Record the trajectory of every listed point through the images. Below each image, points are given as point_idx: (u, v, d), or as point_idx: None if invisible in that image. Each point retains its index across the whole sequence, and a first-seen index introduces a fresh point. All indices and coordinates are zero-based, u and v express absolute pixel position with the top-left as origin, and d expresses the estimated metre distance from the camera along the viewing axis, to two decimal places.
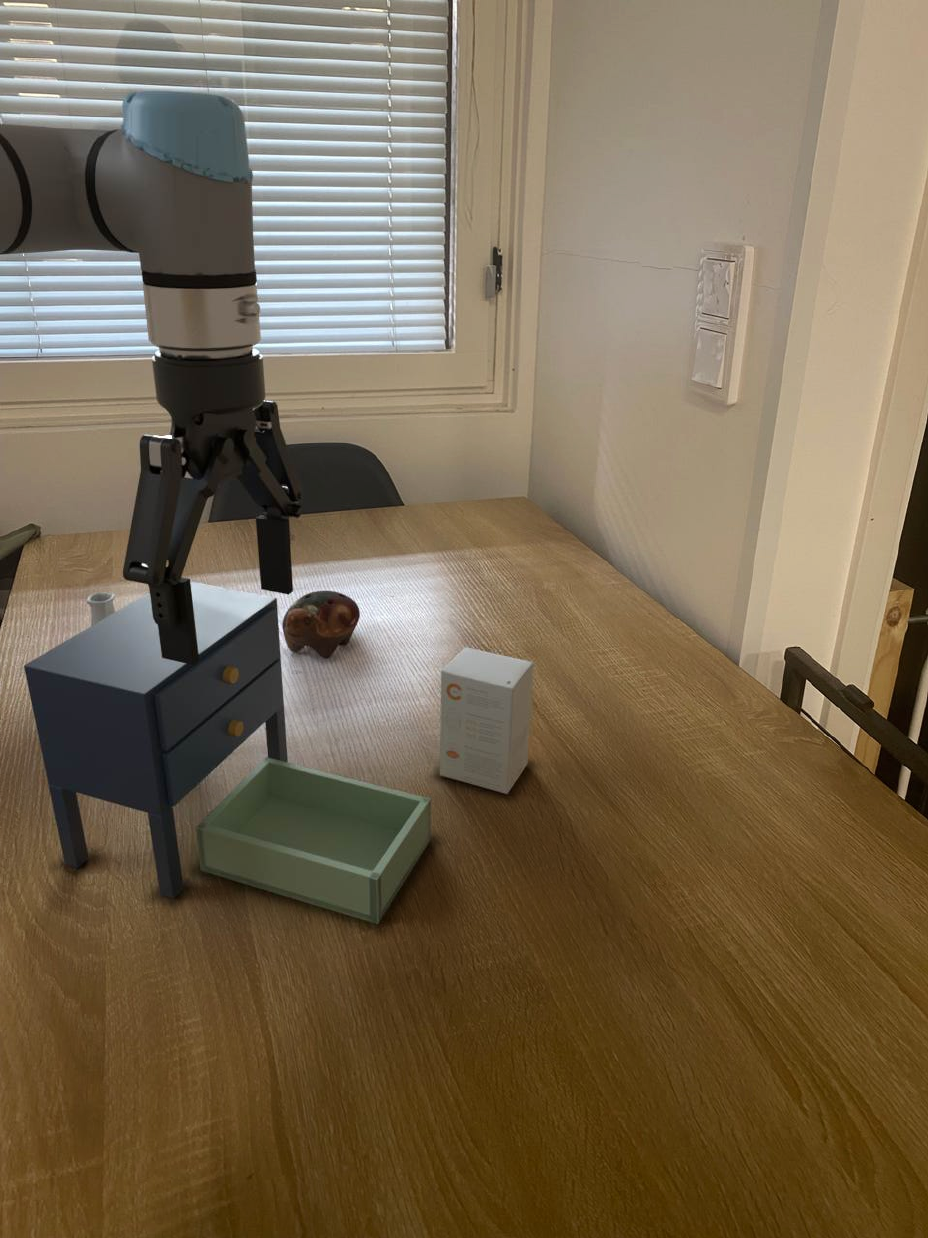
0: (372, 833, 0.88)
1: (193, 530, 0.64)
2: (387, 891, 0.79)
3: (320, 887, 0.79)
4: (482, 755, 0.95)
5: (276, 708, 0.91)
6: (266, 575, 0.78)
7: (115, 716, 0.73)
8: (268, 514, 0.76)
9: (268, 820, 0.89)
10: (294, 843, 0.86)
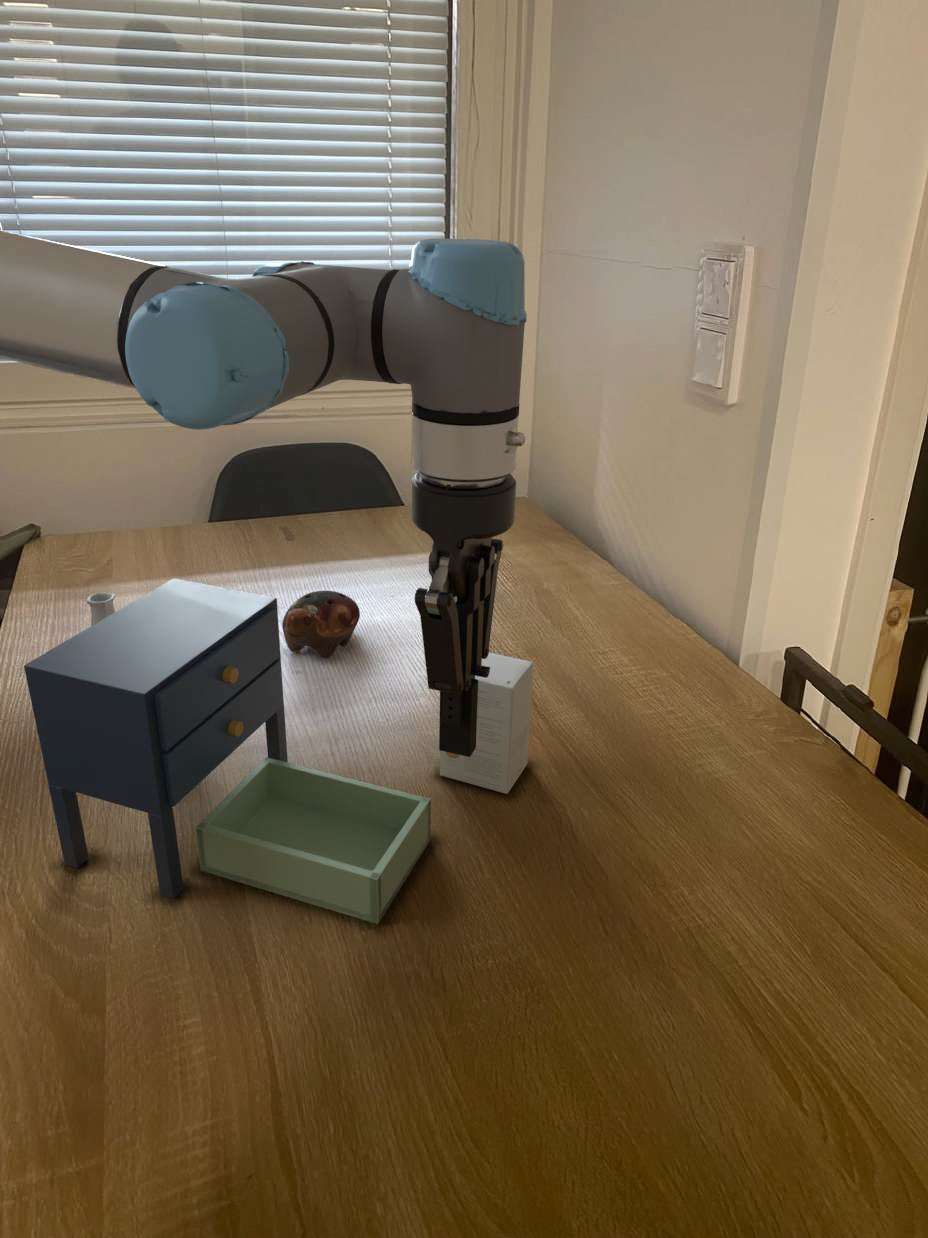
0: (372, 833, 0.88)
1: (470, 641, 0.69)
2: (387, 891, 0.79)
3: (320, 887, 0.79)
4: (482, 755, 0.95)
5: (276, 708, 0.91)
6: None
7: (115, 716, 0.73)
8: None
9: (268, 820, 0.89)
10: (294, 843, 0.86)
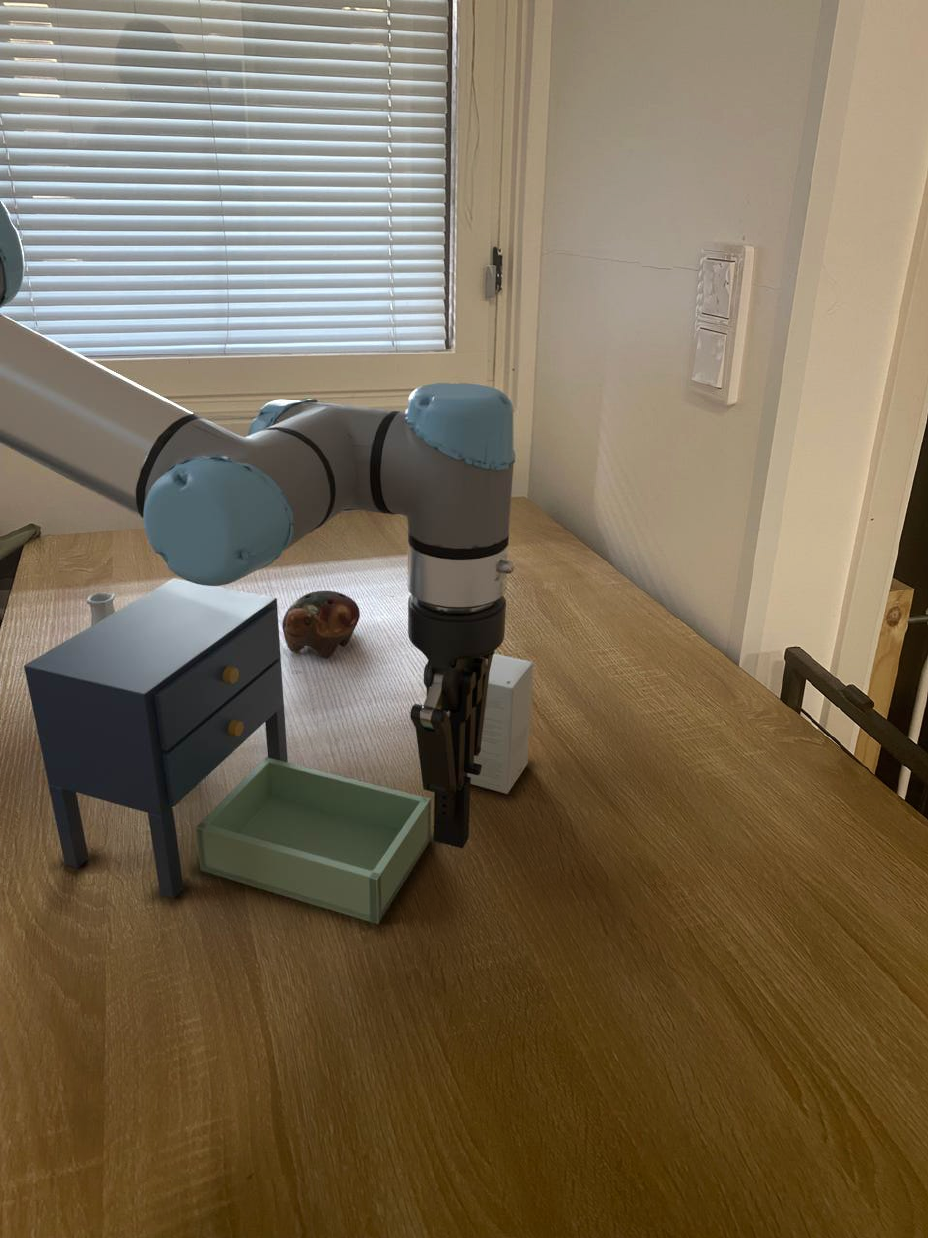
0: (372, 833, 0.88)
1: (463, 746, 0.74)
2: (387, 891, 0.79)
3: (320, 887, 0.79)
4: (482, 755, 0.95)
5: (276, 708, 0.91)
6: None
7: (115, 716, 0.73)
8: None
9: (268, 820, 0.89)
10: (294, 843, 0.86)
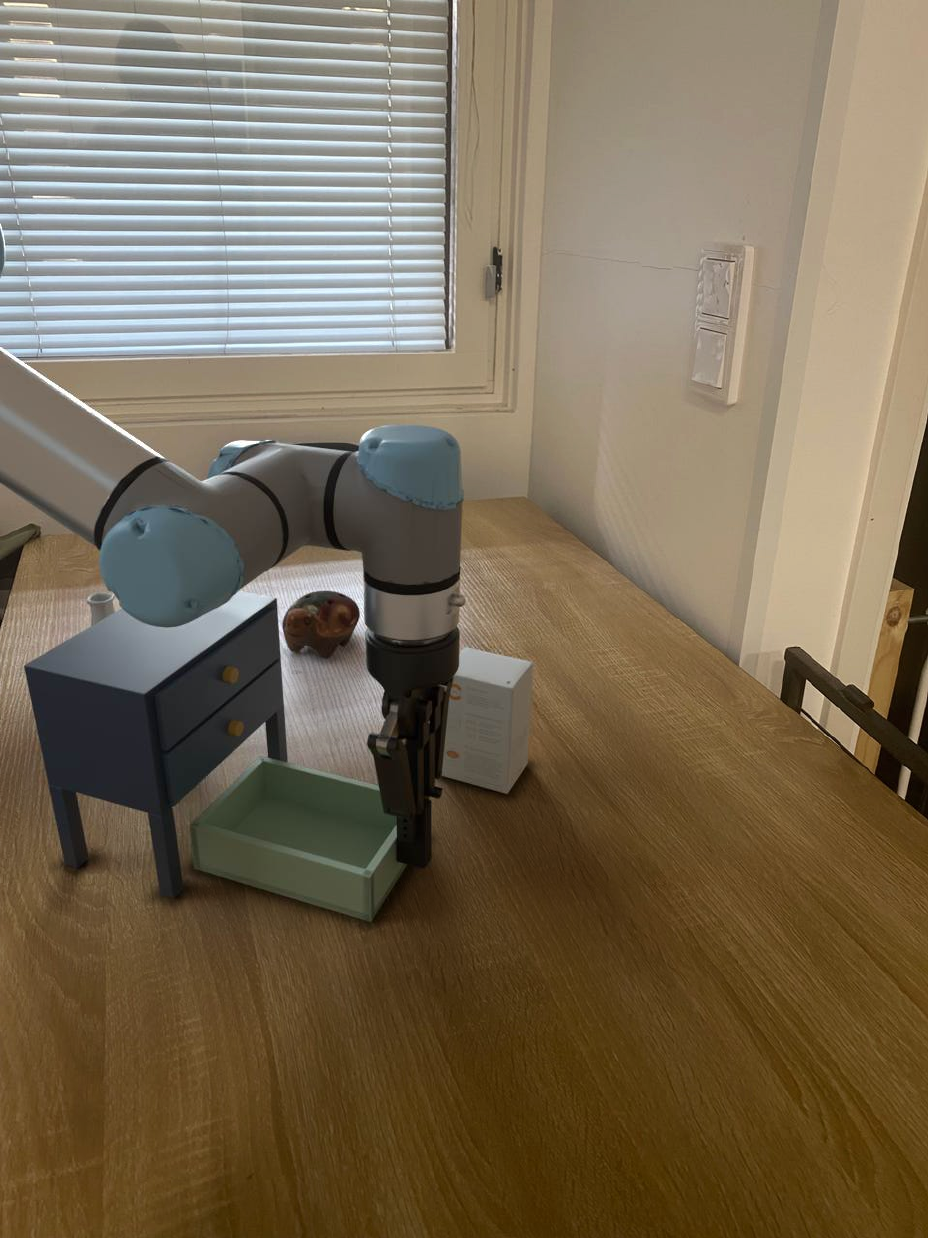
0: (366, 831, 0.88)
1: (421, 771, 0.76)
2: (380, 889, 0.79)
3: (313, 885, 0.79)
4: (482, 755, 0.95)
5: (276, 708, 0.91)
6: None
7: (115, 716, 0.73)
8: None
9: (262, 819, 0.90)
10: (288, 841, 0.87)
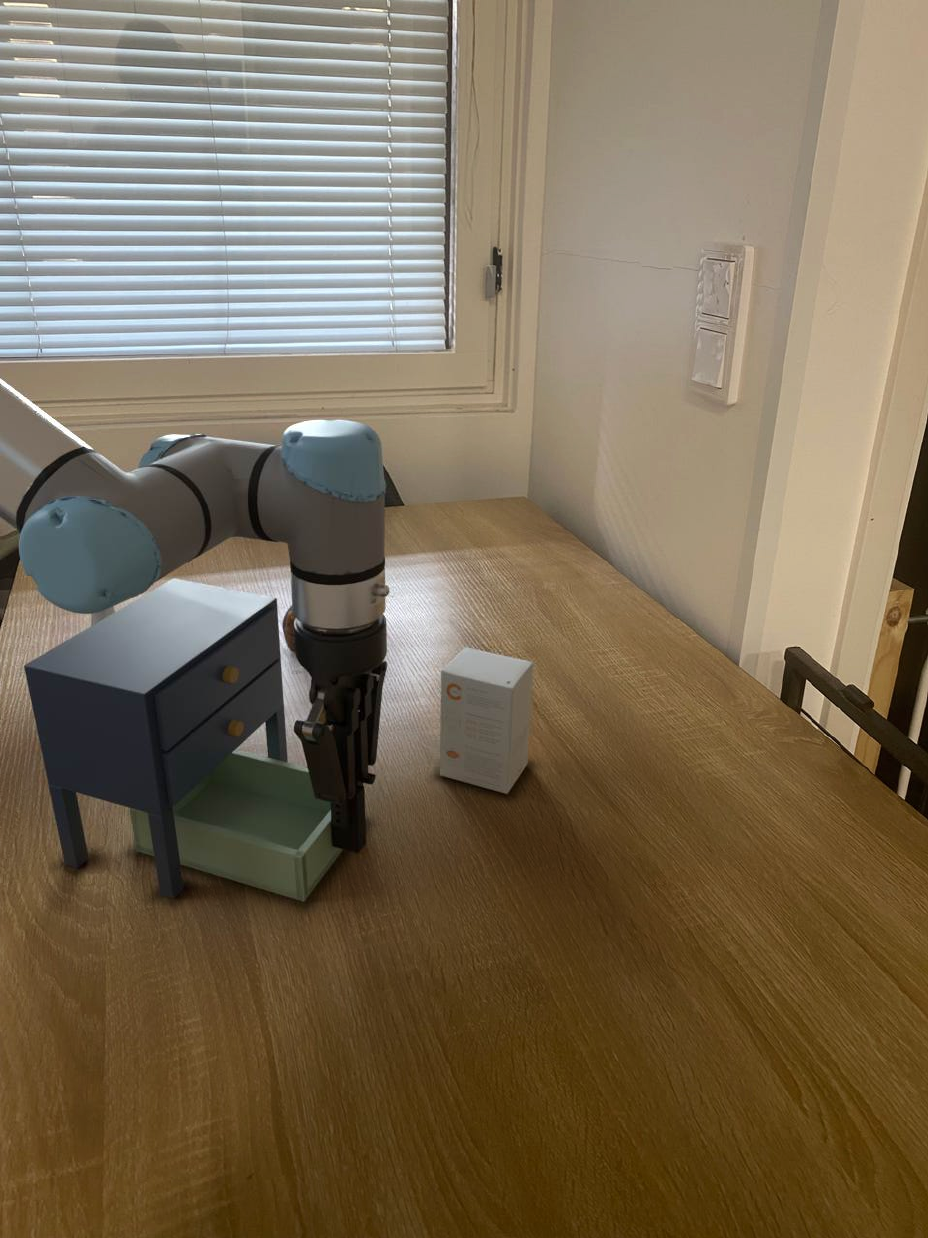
0: (306, 815, 0.90)
1: (352, 757, 0.78)
2: (313, 870, 0.81)
3: (248, 866, 0.81)
4: (482, 755, 0.95)
5: (276, 708, 0.91)
6: None
7: (115, 716, 0.73)
8: None
9: (205, 803, 0.91)
10: (229, 825, 0.89)
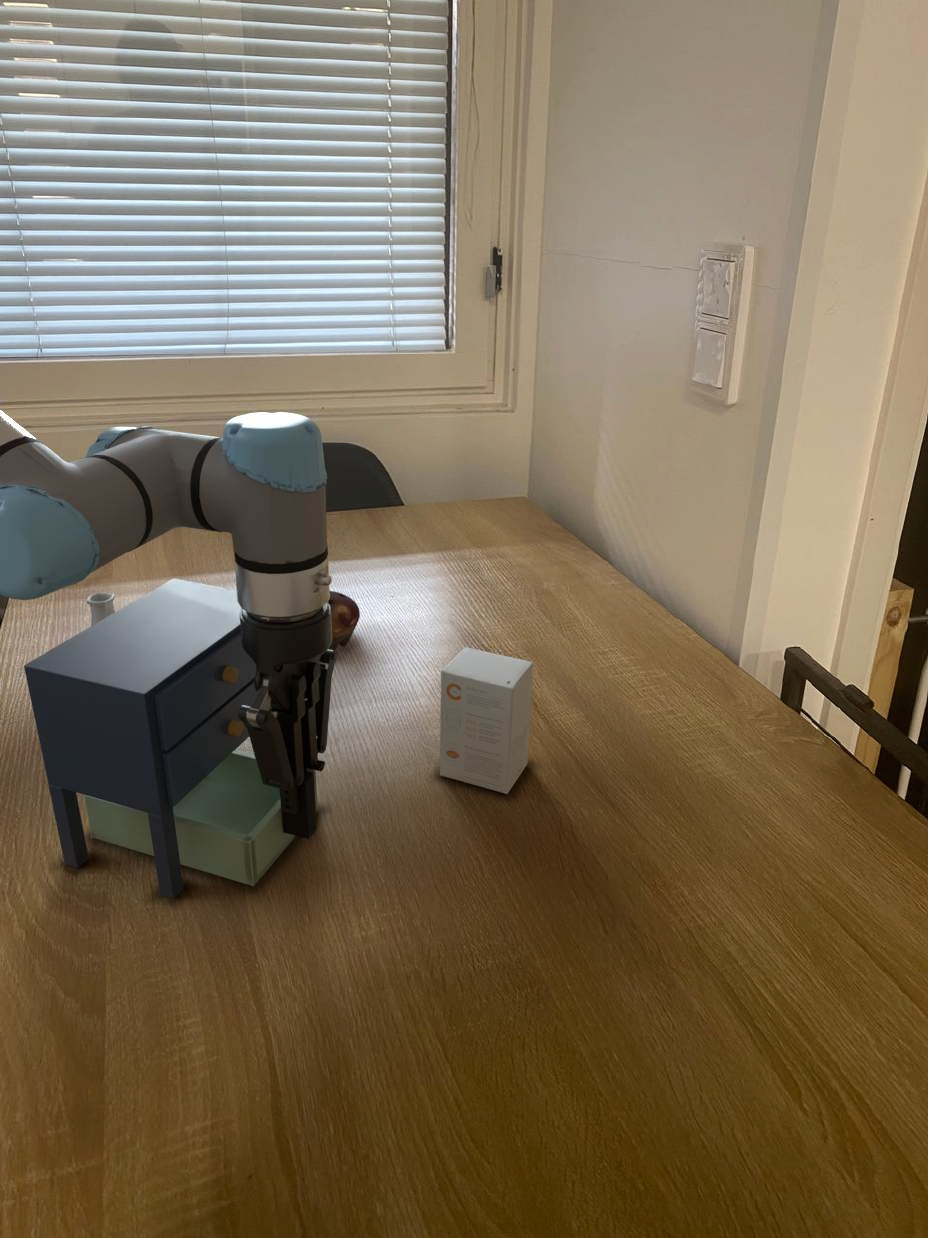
0: (261, 803, 0.92)
1: (299, 744, 0.80)
2: (263, 855, 0.83)
3: (199, 851, 0.83)
4: (482, 755, 0.95)
5: None
6: None
7: (115, 716, 0.73)
8: None
9: None
10: (184, 812, 0.90)
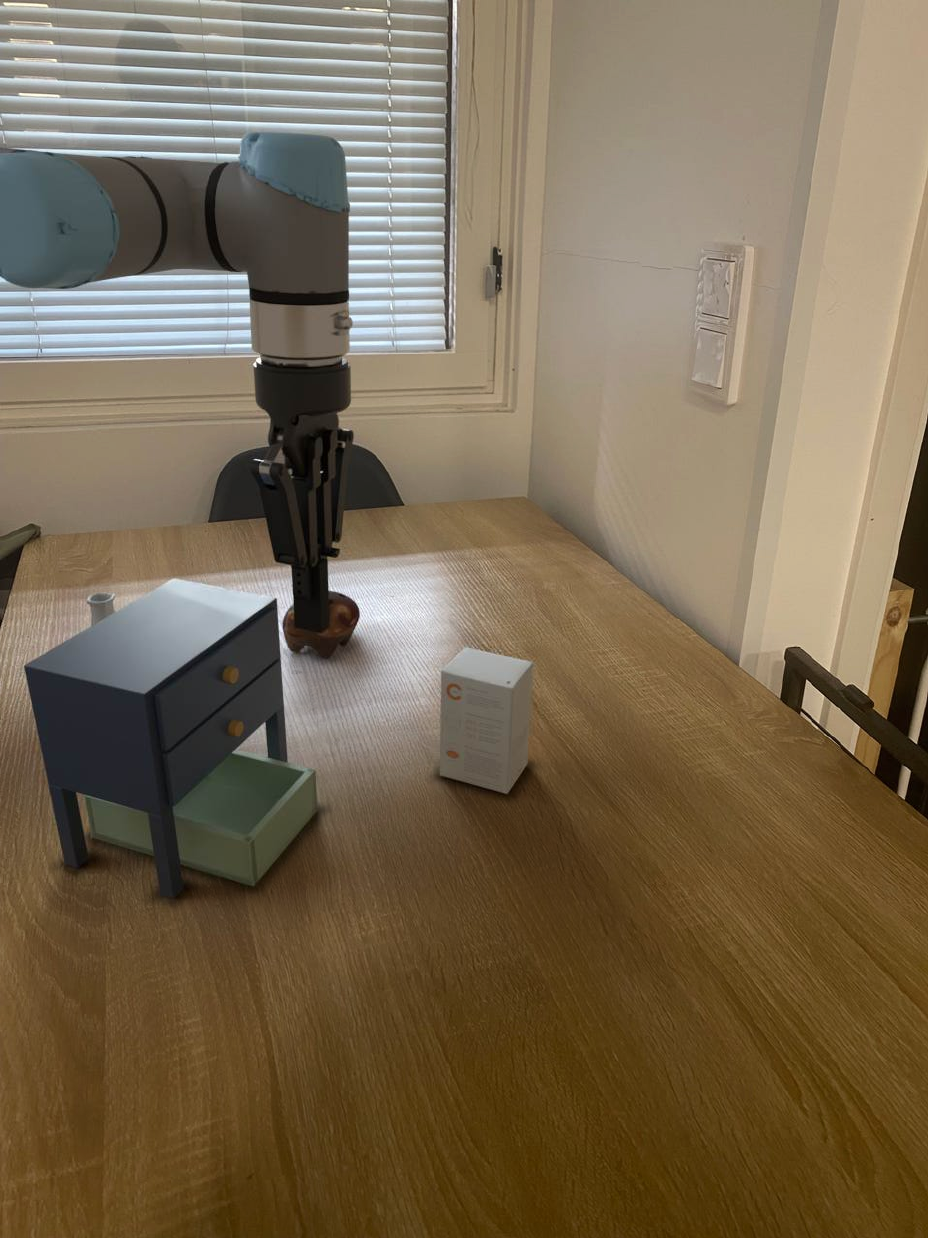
0: (261, 803, 0.92)
1: (314, 519, 0.75)
2: (263, 856, 0.83)
3: (199, 851, 0.83)
4: (482, 755, 0.95)
5: (276, 708, 0.91)
6: None
7: (115, 716, 0.73)
8: None
9: None
10: (184, 812, 0.90)
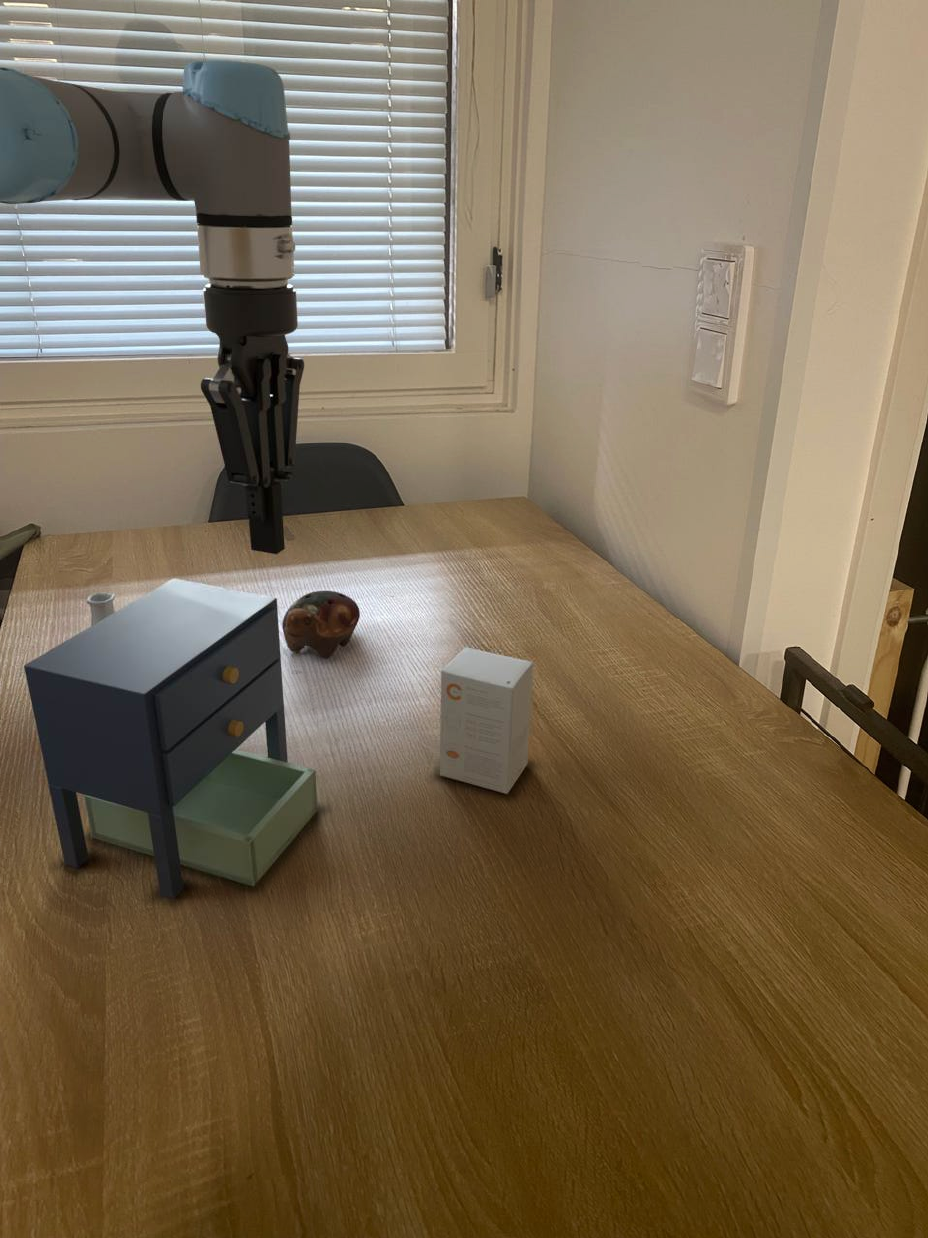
0: (261, 803, 0.92)
1: (265, 440, 0.79)
2: (263, 856, 0.83)
3: (199, 851, 0.83)
4: (482, 755, 0.95)
5: (276, 708, 0.91)
6: None
7: (115, 716, 0.73)
8: None
9: None
10: (184, 812, 0.90)
